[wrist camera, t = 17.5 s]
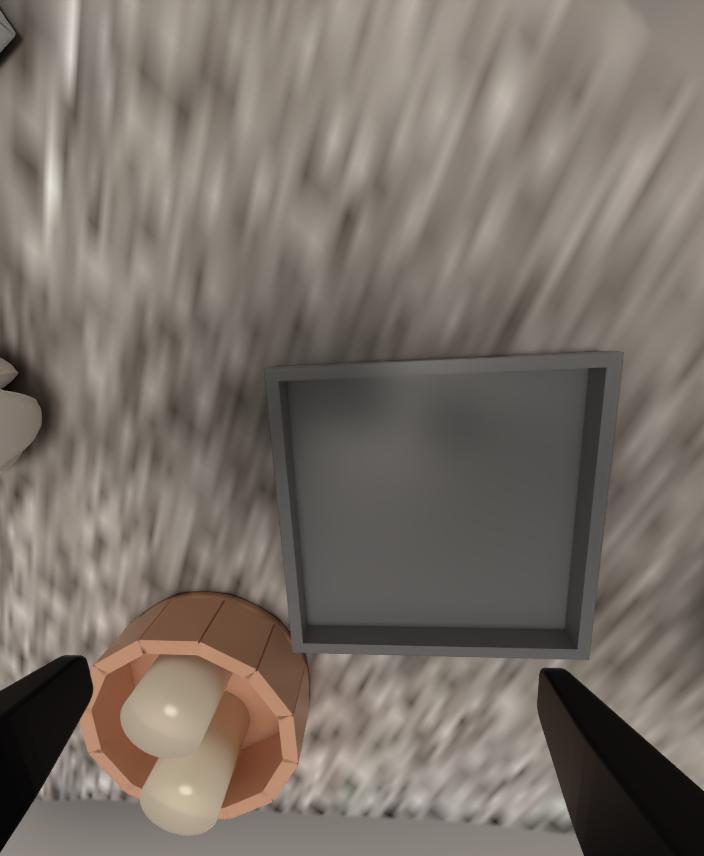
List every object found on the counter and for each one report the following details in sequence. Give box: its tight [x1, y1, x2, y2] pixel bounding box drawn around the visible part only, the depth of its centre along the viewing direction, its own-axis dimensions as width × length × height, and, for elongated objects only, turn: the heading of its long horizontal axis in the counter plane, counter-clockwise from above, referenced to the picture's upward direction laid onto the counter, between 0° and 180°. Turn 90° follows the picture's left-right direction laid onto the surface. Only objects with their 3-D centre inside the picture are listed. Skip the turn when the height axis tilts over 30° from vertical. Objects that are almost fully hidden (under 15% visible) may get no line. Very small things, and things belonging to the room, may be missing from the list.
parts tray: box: [264, 351, 624, 660], centre depth 18 cm, size 15×15×2 cm
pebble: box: [120, 654, 233, 759], centre depth 19 cm, size 4×4×4 cm
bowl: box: [80, 592, 310, 819], centre depth 21 cm, size 12×12×4 cm
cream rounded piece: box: [140, 691, 250, 835], centre depth 20 cm, size 4×4×4 cm
